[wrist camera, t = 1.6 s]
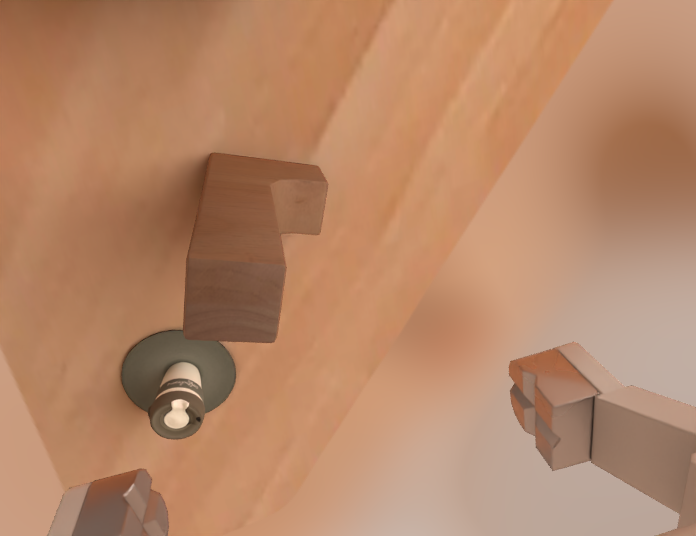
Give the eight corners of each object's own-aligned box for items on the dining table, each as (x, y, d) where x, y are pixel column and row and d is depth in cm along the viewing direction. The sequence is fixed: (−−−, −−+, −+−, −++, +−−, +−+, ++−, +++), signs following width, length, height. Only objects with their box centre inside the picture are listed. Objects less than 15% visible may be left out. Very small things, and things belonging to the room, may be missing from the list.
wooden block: (207, 204, 30) (182, 342, 17) (210, 151, 29) (185, 256, 16) (312, 215, 32) (363, 348, 19) (319, 165, 31) (380, 271, 17)
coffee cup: (99, 440, 36) (80, 497, 32) (85, 298, 31) (60, 342, 27) (264, 433, 39) (267, 484, 35) (275, 301, 34) (280, 341, 30)
